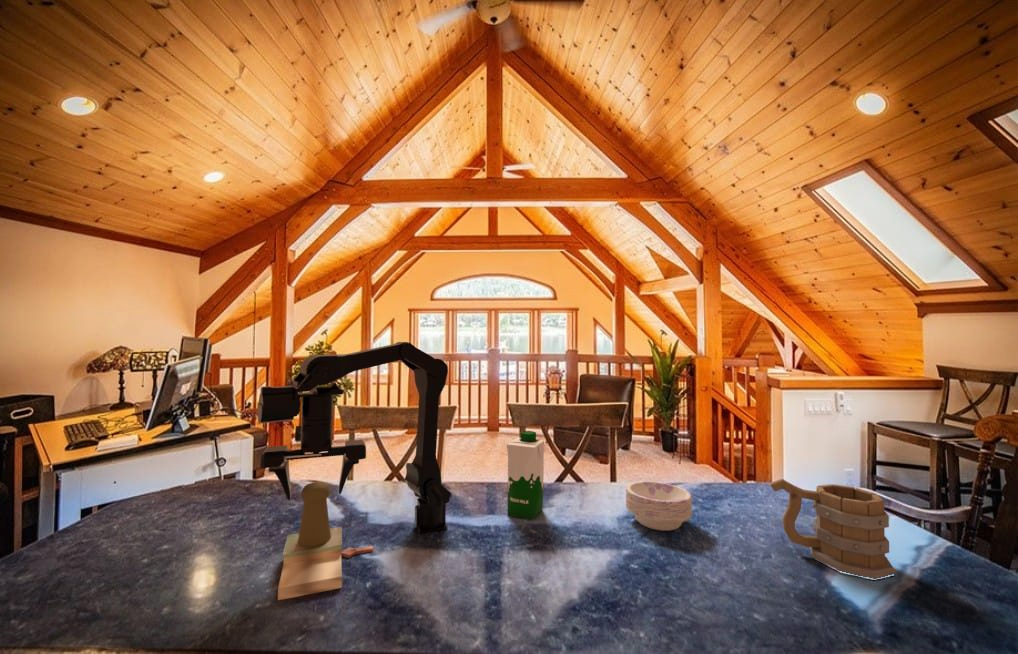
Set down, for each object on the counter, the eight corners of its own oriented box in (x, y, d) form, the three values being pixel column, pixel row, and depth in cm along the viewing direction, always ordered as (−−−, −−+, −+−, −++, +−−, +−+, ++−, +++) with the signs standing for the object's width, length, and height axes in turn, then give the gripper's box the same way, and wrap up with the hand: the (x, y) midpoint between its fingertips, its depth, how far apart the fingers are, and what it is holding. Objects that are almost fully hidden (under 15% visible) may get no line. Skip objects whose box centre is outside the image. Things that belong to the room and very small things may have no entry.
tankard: (880, 556, 88) (879, 483, 88) (901, 587, 77) (900, 504, 77) (768, 534, 97) (767, 469, 98) (772, 559, 86) (772, 485, 87)
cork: (318, 548, 80) (319, 489, 81) (290, 545, 82) (292, 487, 82) (337, 534, 86) (338, 479, 87) (310, 531, 88) (312, 478, 88)
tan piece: (371, 541, 92) (371, 522, 92) (378, 580, 77) (378, 558, 77) (287, 555, 86) (287, 535, 86) (277, 600, 71) (277, 576, 71)
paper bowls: (675, 510, 111) (675, 479, 111) (703, 537, 96) (703, 501, 96) (618, 510, 110) (618, 479, 111) (637, 537, 95) (637, 501, 96)
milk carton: (546, 508, 111) (547, 432, 111) (535, 522, 102) (536, 439, 103) (515, 503, 114) (516, 429, 115) (502, 516, 106) (503, 436, 106)
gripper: (363, 409, 96) (362, 478, 95) (270, 413, 89) (267, 488, 88) (366, 417, 85) (365, 495, 85) (261, 423, 78) (258, 508, 78)
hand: (315, 496), depth 84 cm, fingers open, 9 cm apart
